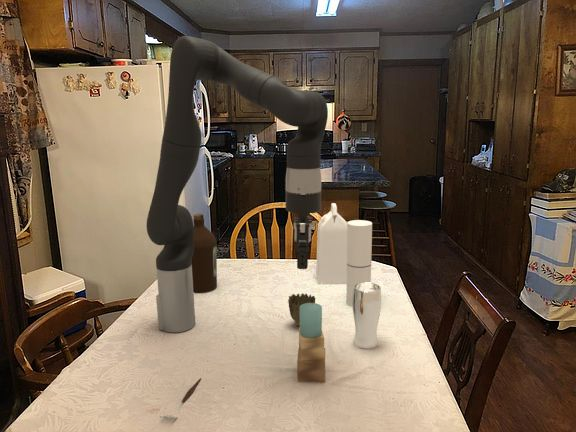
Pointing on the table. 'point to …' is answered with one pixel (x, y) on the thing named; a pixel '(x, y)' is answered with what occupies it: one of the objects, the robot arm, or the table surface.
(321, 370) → the base block
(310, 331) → the cylinder
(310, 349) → the top block
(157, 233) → the robot arm
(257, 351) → the table surface
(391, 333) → the table surface
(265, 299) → the table surface
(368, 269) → the cylindrical container
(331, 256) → the milk
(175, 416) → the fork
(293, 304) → the cup
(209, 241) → the olive oil
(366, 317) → the beer glass
